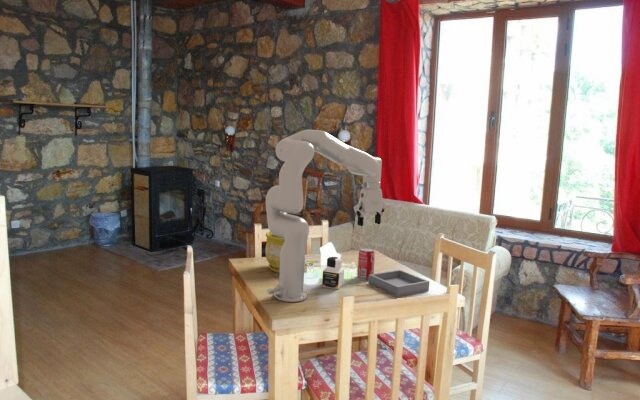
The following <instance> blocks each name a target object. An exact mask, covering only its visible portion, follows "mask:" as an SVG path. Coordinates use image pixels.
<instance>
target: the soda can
mask: <svg viewBox="0 0 640 400" xmlns="http://www.w3.org/2000/svg"><path fill="white" fill-rule="evenodd" d="M375 255H376V253H375V249H374V248H372V247H361V248H360V249H359V251H358V258H357V261H358V262H357V263H358V264H357V274H356V275H357V277H358V278H359V279H360V280H367V281H369V274H375V273H374V272H375V259H376V258H375V257H376V256H375Z"/></svg>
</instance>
